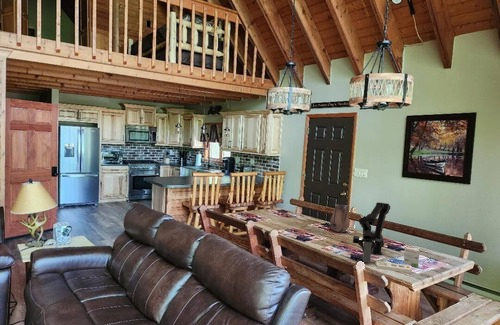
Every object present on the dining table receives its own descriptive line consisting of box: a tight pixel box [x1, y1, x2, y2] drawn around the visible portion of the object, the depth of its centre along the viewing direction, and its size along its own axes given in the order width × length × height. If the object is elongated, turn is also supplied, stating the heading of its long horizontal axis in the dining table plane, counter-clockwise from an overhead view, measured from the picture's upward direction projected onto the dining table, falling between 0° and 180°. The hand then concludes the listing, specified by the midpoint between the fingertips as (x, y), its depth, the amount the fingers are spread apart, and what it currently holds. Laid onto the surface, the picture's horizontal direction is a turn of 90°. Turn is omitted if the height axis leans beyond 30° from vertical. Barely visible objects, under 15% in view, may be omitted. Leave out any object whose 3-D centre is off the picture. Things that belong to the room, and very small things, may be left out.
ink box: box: [403, 246, 420, 269], centre depth 233 cm, size 9×5×12 cm, turn 47°
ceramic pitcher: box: [329, 203, 350, 233], centre depth 316 cm, size 18×21×25 cm
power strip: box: [374, 260, 413, 274], centre depth 222 cm, size 21×9×4 cm, turn 76°
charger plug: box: [362, 241, 372, 263], centre depth 229 cm, size 4×4×13 cm
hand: (367, 252), depth 228 cm, fingers closed on charger plug, 4 cm apart
